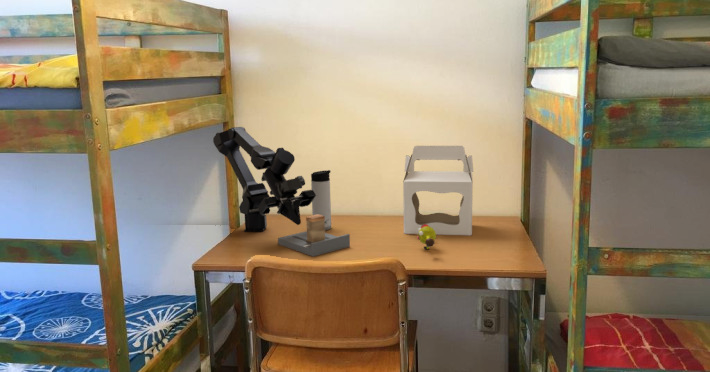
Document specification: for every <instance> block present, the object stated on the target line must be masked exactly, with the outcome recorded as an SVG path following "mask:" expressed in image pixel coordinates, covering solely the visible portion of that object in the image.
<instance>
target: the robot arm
mask: <svg viewBox="0 0 710 372" xmlns="http://www.w3.org/2000/svg"><path fill="white" fill-rule="evenodd" d="M212 138H213V139H212V142H213V145H214V146H215V148H216V150H217V151H218V152H219V153H220V154H222V155H223V156H225V157H226V158H227V160H228V162H229V164H230V166H231V168H232V170H233V172H234V174H235V176H236V178H237V180H238V182H239V184H240V186H241V188H242V194H241V196H242V197H241V199H242V201H241V203H240V205H239V206H238V209H239V213H240V214H243V215H244V229H243V232H245V233H246V232H264V231H265V230H266V228H267V227H268V222H267V215H268V214H270V212H271V209H272V208H276V207H277V211H276V213H277V214H278V215H282V216H283V217H285V218H287V219H289V221H291V222H292V223H294V224H296V226H299V225H301V224H302V220H301V212H300V208H303V207H309V205H311V204H312V201H313V199H314V198H315V196H316V194H315V192H314V191H313V190H312V189H307V190H302V191H301V192H300V193H299V195H298V196H296V195H297V194H298V190H300V189H303V187H304V186H305V185H306V180H305V178H304V177H303V175H298V176H296V177H295V178H290V179H286V177H285V175H286V174H287V173H289V170H290V169H291V167H292V165H293V164H294V162H295V160H296V159H295V156H294V154H293V153H292V152H290V151H288V150H285V148H284V147H278V148H277V149H276V150H275V151H274V150H273V149H271V148H270V147H266V146H262V145H261V144H260V143H259V142H258V141H257V140H256V139H254V137H253V136H251V134H249V133H248V131H247V130H246V129H245V127H243V126H236V127H231V128H228V129H227V130H224V131H221V132H216V134H215V135H214V136H213V137H212ZM240 147H241V149H243V151H245V152H246V154H248V155H249V157H250V162H251V164H252V165H253V167H254V168H255V169H256V170H257V171H258V170H259V171H260V170H265V171H263V172H262V176H261V183H260V182H259V183H258V182H257V180H255V178H254V176H253V173H252V171H251V170H250V168H249V166H248V164H247V162H246V160H245V158H244V156H243V153H242V152H241V151H240ZM263 182H266V183H267V185H268V187H269V189H270V191H268V190H267V188H266V186H265V184H264V183H263ZM269 194H270V195H269Z"/></svg>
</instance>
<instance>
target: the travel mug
mask: <svg viewBox="0 0 710 372" xmlns="http://www.w3.org/2000/svg"><path fill="white" fill-rule="evenodd" d="M330 174H331V170H330V169H327V170H318V171H314V172H312V173H311V174H310V176H311V177H310V178H311V179H310V182H311V184H310V186H311V189H310V190H313V191H314V192H315V194H316V196H315V198H314V199H313V201H312V202H311V210H312V211H311V212H312V213H311V214H312V215H311V216H313V215H317V214H319V215H323V216H325V219H324V223H325V231H328V230H330V229H332V208H331V206H332V205H331V204H332V203H331V182H330V181H331V179H330V176H331V175H330Z"/></svg>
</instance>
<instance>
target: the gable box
mask: <svg viewBox="0 0 710 372" xmlns="http://www.w3.org/2000/svg"><path fill="white" fill-rule="evenodd" d="M465 151H466V150H465V147H464V146H463V145H414V146H413V148H412V153H411V155H405V160H404V161H405V162H404V173H405V175H404V179H403V183H402V184H403V186H402V189H403V190H402V191H403V192H402V193H403V194H402V195H403V235H405V234H406V235H418V233H419V232H418V229H419V228H421V226H422V225H424V224H426V225H428V226H429V227H431V228H433V229H434V230H435V233H436V236H437V235H443V236H472V235H473V188H474V187H473V182H474V181H473V173H474V163H473V155H468V156H467V154H466V152H465ZM421 160H422V161H425V160H426V161H427V160H428V161H429V160H430V161H431V160H432V161H439V160H440V161H441V160H442V161H443V160H444V161H446V160H447V161H462V164H463V169H462V170H463V171H448V170H447V171H444V170H443V171H438V170H437V171H435V170H433V171H430V170H429V171H427V170H426V171H424V170H422V171H420V170H417V171H416V170H415V162H416V161H421ZM418 192H430V193H435V194H436V193H437V194H449V193H450V194H451V193H457V194H460V195H462V197H461V200H460V205H459V212H458V214H457V215H452V214H448V213H446V212H445V213H444V212H433V213H430V214H422V213H420V199H419V197H418V194H417V193H418Z"/></svg>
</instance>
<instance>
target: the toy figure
mask: <svg viewBox="0 0 710 372" xmlns="http://www.w3.org/2000/svg"><path fill="white" fill-rule="evenodd" d="M418 232H419V233H418V234H417V237H416V238H417V240H418V241H420V242H421V243H422V244H423V245H425V246H423V250H426V251H428V250H430V248H431V247H433V246H434V244H435V240H436V237H437V235H436V233H435V230H434V229H433V228H431V227H429V226H428V225H426V224H424V225H422V226H421V228H419V229H418Z"/></svg>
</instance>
